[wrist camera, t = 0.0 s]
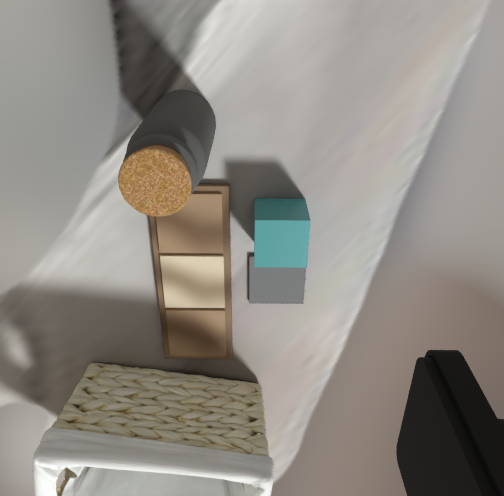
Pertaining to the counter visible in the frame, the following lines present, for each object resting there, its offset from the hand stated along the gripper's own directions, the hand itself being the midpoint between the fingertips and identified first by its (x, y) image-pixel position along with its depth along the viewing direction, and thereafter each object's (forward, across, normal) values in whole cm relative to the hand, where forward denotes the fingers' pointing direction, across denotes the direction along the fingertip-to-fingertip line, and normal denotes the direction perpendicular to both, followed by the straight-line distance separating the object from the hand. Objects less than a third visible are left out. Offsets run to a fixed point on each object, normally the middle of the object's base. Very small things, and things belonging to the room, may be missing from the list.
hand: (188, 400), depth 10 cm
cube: (+37, -4, +14) cm, 40 cm away
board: (+37, +5, +21) cm, 43 cm away
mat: (+37, -4, +21) cm, 43 cm away
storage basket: (+37, +9, +41) cm, 56 cm away
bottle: (+37, +5, +4) cm, 38 cm away
